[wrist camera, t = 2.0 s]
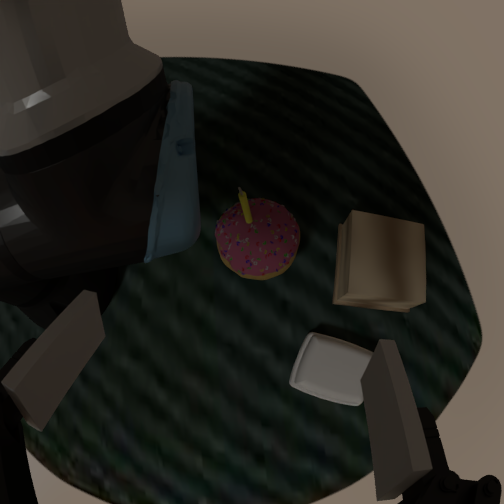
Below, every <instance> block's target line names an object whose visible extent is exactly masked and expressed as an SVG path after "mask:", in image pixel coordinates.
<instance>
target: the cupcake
mask: <svg viewBox="0 0 504 504" xmlns="http://www.w3.org/2000/svg"><path fill="white" fill-rule="evenodd" d="M238 189H239V194H238V196H239V200H240V202H237V203H235V205H233V206H232V207H231V208H229V209H226V211H225V212H224V214H222V216H221V218H220V219H219V220H217V225H216V229H215V236H216V238H217V247H218V251H219V254H220V257H221V259H222V261H223V262H224V264H225V265H226V266H227V267H229V268H230V269H231V270H233V271H234V272H236V273H237V274H238V275H240V276H241V277H244V278H249V279H256V280H267V279H270V278H272V277H275V276H278V275H280V274H282V273H284V272H285V271H286V270H287V269H288V268H289V267H290V265H291V264H292V262H293V261H294V259H295V256H296V253H297V250H298V246H299V243H300V229H299V226H298V224H297V222H296V219H295V218H294V217H293V214H292V215H291V214H290V212H289V211H288V210H287V209H286V208H285V206H284V205H280V204H278V203H276V202H274V201H271V200H267V199H264V198H260V197H259V198H254V199H247V196H246V193H245V192H244V191H242V190H241V188H240V187H238ZM283 206H284V207H283Z"/></svg>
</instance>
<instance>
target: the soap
mask: <svg viewBox="0 0 504 504" xmlns="http://www.w3.org/2000/svg"><path fill="white" fill-rule="evenodd" d="M372 355H373V352H371V351H369V350H367V349H365V348H362V347H360V346H358V345H355V344H352V343H350V342H347V341H344V340H341V339H338V338H334V337H331V336H327V335H323V334H319V333H315V332H310V333H308V334H307V336H306V338H305V340H304V341H303V343H302V345H301V348H300V350H299V353H298V356H297V358H296V361H295V363H294V365H293V369H292V372H291V376H290V380H289V383H290V385H291V386H292V387H294V388H296V389H299V390H301V391H303V392H305V393H308V394H310V395H313V396H316V397H319V398H322V399H325V400H329V401H333V402H337V403H341V404H346V405H353V406H358V405H360V404H361V403H362V402H363V400H364V399H363V393H362V387H361V382H360V380H361V378H362V376H363V374H364V372H365V370H366V367H367V365H368V363H369V361H370V359H371V357H372Z"/></svg>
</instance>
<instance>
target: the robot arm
mask: <svg viewBox="0 0 504 504" xmlns="http://www.w3.org/2000/svg"><path fill="white" fill-rule="evenodd" d="M200 230H201V219H200V205H199V191H198V178H197V165H196V152H195V133H194V107H193V89H192V86H191V84H189V83H188V82H179V81H178V80H174V81H171V83H170V84H167V82H166V78H165V74H164V69H163V65H162V60H161V58H160V57H159V56H158V55H156V54H154V53H152V52H150V51H148V50H146V49H144V48H142V47H140V46H138V45H136V44H134V43H133V42H132V41H131V39H130V37H129V35H128V30H127V26H126V22H125V17H124V12H123V8H122V3H121V0H0V301H2V302H5V303H8V304H11V305H14V306H17V307H18V308H19V309H20V310H21V311H22V312H23V313H24V314H25V315H27V316H28V317H29V318H30V319H31V320H32V321H33V322H34V323H36V324H37V325H38V326H40V327H42V328H44V329H46V330H45V331H44V332H43V333H42V334H41V336H40V337H39V338H38V339H35V338H32V339H30V340H28V341H27V342H25V343H24V344H23V345H22V346H21V347H20V348H19V349H18V350H17V352H16V353H15V354H14V355H13V356H12V358H10V359H9V361H8V362H7V363H6V364H5V365H4V366H3V368H2V369H1V370H0V504H38V501H37V497H36V494H35V490H34V486H33V482H32V478H31V473H30V469H29V464H28V459H27V454H26V447H25V441H24V434H23V427H22V423H21V421H20V420H21V419H22V417H24V419H25V420H26V422H27V423H28V424H29V425H30V426H32V427H34V428H36V429H37V430H39V431H41V432H42V430H43V429H44V427H45V425H46V424H47V422H48V420H49V419H50V417H51V416H52V414H53V413H54V411H55V409H56V408H57V406H58V405H59V403H60V402H61V400H62V399H63V397H64V396H65V394H66V393H67V391H68V390H69V388H70V387H71V385H72V384H73V382H74V381H75V379H76V378H77V376H78V375H79V373H80V372H81V370H82V369H83V367H84V366H85V365H86V363H87V362H88V360H89V359H90V357H91V356H92V355H93V353H94V352H95V350H96V349H97V347H98V346H99V345H100V343H101V342H102V340H103V339H104V338H105V332H104V328H103V323H102V319H101V314H102V313H103V311H104V310H105V308H106V307H107V305H108V303H109V301H110V299H111V297H112V294H113V291H114V288H115V283H116V277H117V267H119V266H124V265H130V264H136V263H142V262H144V263H148V262H150V261H152V259H154V258H158V257H162V256H165V255H169V254H173V253H177V252H181V251H184V250H186V249H188V248H189V247H191V246H192V245H193V244H194V243H195V242H196V240H197V238H198V237H199V234H200ZM360 382H361V387H362V393H363V399H364V405H365V411H366V417H367V423H368V430H369V437H370V444H371V452H372V459H373V468H374V476H375V486H376V497H377V501H382V500H390V499H395V498H397V497H398V496H399V495H401V494H402V496H403V500H402V501H401V502H399V503H398V504H500V497H501V484H500V482H499V480H498V479H497V478H496V477H495V476H493V475H486V476H484V477H482V478H481V479H480V480H478V481H472V480H463V479H460V478H459V476H458V475H457V474H456V473H455V472H453V471H450V470H449V467H448V465H447V461H446V457H445V453H444V449H443V446H442V442H441V439H440V438H439V436H440V435H439V432H438V429H437V425H436V422H435V419H434V416H433V415H432V414H431V412H430V411H429V410H428V408H427V407H425V408H417V407H416V404H415V400H414V397H413V394H412V391H411V387H410V384H409V381H408V378H407V375H406V372H405V369H404V366H403V363H402V360H401V357H400V354H399V352H398V349H397V346H396V343H395V340H384V339H379V342H378V344H377V346H376V348H375V350H374V353H373V355H372V357H371V359H370V361H369V363H368V365H367V367H366V370H365V372H364V374H363V376H362V378H361V380H360Z"/></svg>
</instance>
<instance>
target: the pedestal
mask: <svg viewBox="0 0 504 504" xmlns="http://www.w3.org/2000/svg"><path fill="white" fill-rule="evenodd" d="M425 302H426V254H425V233H424V224H420V223H416V222H411V221H406V220H401V219H397V218H392V217H387V216H382V215H377V214H371V213H366V212H361V211H355V210H352V211H351V213H350V214H349V216H348V218H347V219H346V221H345V222H344V224H339V226H338V243H337V257H336V270H335V282H334V293H333V303H332V304H338V305H346V306H354V307H362V308H370V309H379V310H388V311H397V312H409V309H410V308H412V307H414V306H417V305H420V304H422V303H425Z"/></svg>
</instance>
